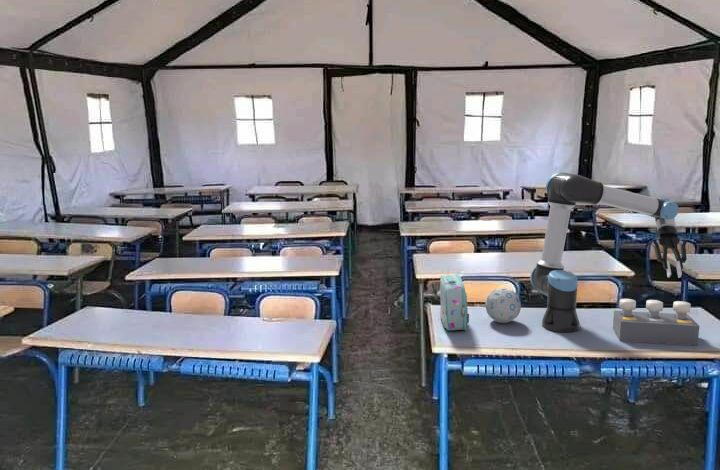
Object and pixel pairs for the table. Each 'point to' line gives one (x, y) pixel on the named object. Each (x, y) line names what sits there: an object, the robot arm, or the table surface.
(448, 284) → the lunch box
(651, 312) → the button middle
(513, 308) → the puzzle ball
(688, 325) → the console
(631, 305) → the button left
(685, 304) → the button right
